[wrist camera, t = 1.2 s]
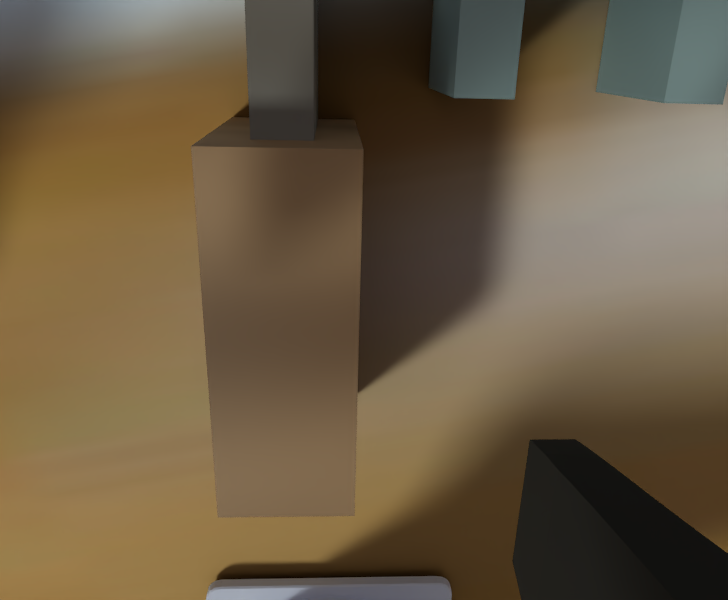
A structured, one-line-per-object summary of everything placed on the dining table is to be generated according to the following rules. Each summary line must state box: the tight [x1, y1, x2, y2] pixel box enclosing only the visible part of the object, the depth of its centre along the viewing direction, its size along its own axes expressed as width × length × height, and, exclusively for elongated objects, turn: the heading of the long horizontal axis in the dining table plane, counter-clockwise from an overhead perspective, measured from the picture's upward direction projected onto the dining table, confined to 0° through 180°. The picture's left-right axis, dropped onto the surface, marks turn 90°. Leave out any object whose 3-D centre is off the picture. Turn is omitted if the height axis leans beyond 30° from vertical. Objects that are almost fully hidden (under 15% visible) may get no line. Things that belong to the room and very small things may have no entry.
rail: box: [191, 0, 364, 517], centre depth 14 cm, size 12×3×5 cm, turn 178°
